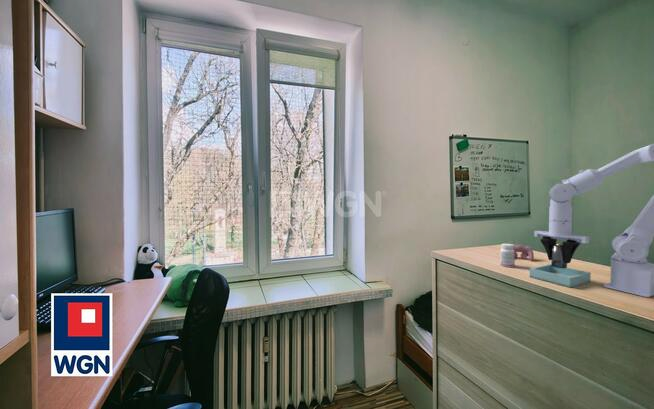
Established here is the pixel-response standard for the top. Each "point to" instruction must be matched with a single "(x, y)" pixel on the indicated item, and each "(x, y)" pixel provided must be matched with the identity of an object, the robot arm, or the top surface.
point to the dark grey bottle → (558, 256)
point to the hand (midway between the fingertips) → (559, 261)
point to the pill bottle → (507, 255)
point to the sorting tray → (560, 275)
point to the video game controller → (524, 252)
